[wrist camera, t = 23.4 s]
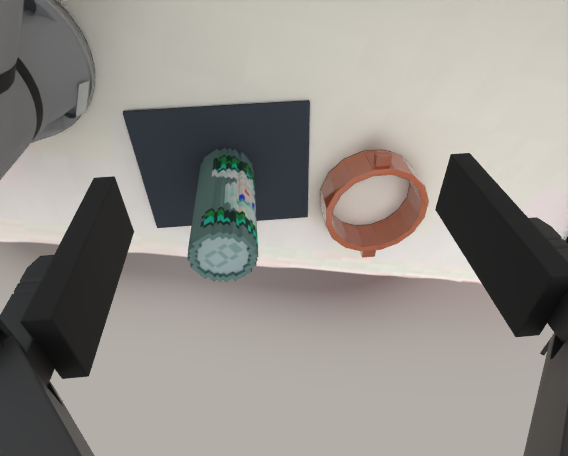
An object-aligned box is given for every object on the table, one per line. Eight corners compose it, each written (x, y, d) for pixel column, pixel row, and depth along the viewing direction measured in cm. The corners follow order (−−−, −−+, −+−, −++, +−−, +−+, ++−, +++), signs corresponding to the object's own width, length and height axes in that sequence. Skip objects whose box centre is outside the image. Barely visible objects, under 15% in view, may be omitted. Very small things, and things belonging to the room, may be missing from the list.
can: (262, 175, 48) (269, 261, 37) (223, 200, 50) (218, 289, 39) (230, 138, 45) (228, 221, 33) (190, 166, 47) (174, 254, 35)
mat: (157, 225, 53) (157, 228, 52) (123, 110, 42) (122, 112, 42) (307, 214, 54) (307, 217, 53) (309, 100, 43) (309, 101, 43)
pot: (318, 240, 57) (323, 262, 53) (322, 141, 47) (329, 160, 43) (404, 234, 57) (414, 255, 54) (426, 134, 47) (441, 153, 44)
